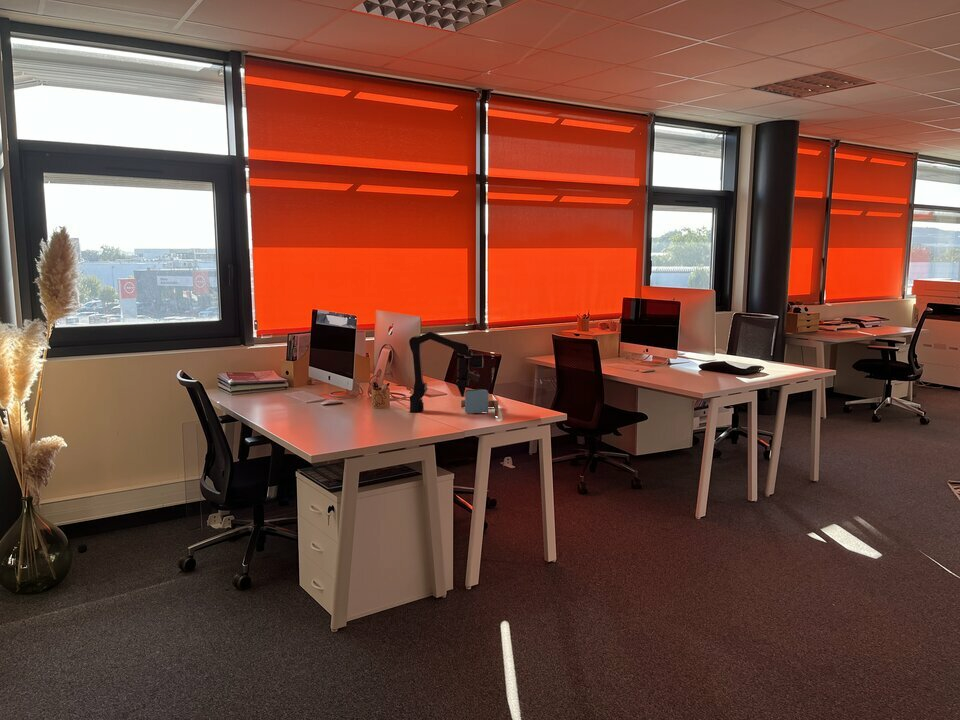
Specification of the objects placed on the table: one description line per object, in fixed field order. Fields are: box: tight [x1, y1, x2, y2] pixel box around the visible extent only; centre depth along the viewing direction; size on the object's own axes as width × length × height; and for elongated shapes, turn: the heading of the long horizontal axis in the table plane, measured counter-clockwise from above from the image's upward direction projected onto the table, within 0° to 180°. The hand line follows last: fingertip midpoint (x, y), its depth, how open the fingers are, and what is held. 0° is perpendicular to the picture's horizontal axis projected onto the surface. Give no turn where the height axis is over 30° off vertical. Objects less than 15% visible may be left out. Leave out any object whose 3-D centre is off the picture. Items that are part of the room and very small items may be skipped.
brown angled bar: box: [460, 399, 499, 417], centre depth 366 cm, size 20×25×4 cm
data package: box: [464, 389, 489, 414], centre depth 364 cm, size 12×4×12 cm, turn 89°
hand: (462, 396), depth 364 cm, fingers closed, pressing on data package
